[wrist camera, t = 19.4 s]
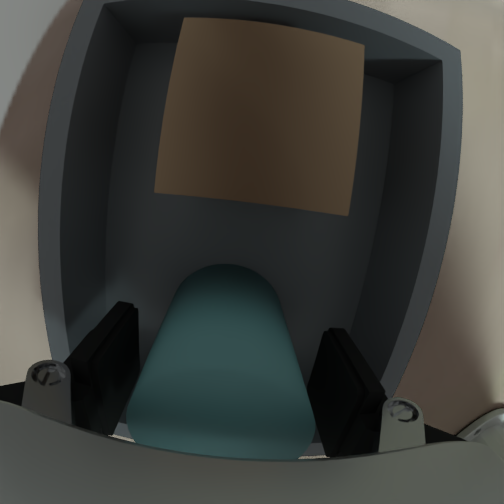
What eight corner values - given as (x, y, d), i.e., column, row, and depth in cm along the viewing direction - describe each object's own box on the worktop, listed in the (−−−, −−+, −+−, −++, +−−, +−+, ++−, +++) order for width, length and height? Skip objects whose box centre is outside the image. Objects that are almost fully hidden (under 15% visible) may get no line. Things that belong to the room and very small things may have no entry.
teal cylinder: (252, 372, 14) (262, 490, 8) (158, 337, 14) (115, 451, 7) (300, 290, 13) (352, 399, 6) (194, 245, 12) (151, 334, 6)
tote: (128, 35, 11) (89, -12, 6) (402, 78, 12) (460, 50, 7) (102, 364, 15) (68, 419, 10) (337, 392, 16) (362, 451, 11)
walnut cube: (319, 89, 11) (364, 45, 6) (306, 201, 12) (348, 216, 8) (203, 73, 11) (184, 17, 6) (187, 186, 12) (153, 192, 7)
